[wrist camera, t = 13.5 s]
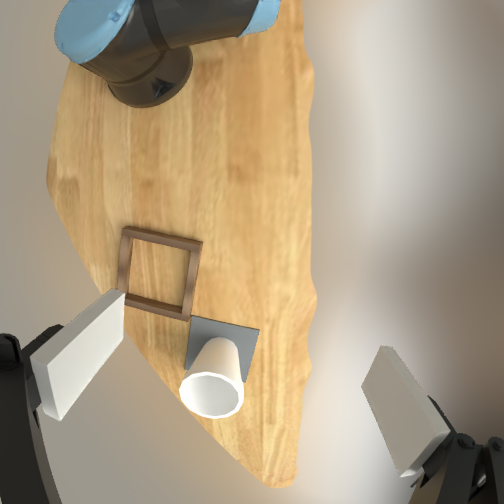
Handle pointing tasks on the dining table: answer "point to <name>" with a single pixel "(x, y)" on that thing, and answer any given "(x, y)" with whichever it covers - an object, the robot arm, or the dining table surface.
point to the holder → (167, 240)
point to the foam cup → (214, 381)
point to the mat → (211, 329)
